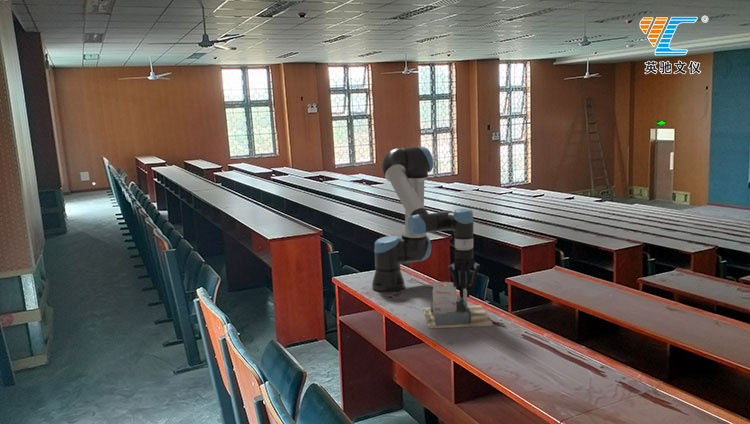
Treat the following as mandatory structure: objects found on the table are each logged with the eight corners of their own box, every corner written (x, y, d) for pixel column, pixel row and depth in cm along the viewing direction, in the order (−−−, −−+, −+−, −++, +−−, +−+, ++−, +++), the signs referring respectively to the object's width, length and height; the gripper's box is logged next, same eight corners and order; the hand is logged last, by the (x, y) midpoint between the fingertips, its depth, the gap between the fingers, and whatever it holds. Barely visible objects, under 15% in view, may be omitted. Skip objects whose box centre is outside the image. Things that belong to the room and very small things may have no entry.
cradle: (422, 310, 239) (422, 300, 239) (481, 307, 240) (481, 298, 239) (428, 328, 219) (428, 318, 218) (492, 325, 219) (492, 315, 218)
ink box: (457, 315, 229) (456, 278, 226) (454, 319, 224) (454, 282, 222) (435, 313, 231) (434, 277, 229) (432, 318, 227) (431, 281, 224)
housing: (428, 306, 239) (428, 297, 239) (461, 305, 239) (461, 295, 239) (435, 324, 219) (435, 314, 218) (471, 323, 219) (471, 313, 218)
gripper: (449, 251, 229) (450, 308, 233) (482, 249, 229) (482, 307, 233) (446, 246, 236) (447, 302, 240) (478, 245, 236) (478, 301, 240)
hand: (464, 305), depth 236 cm, fingers closed
